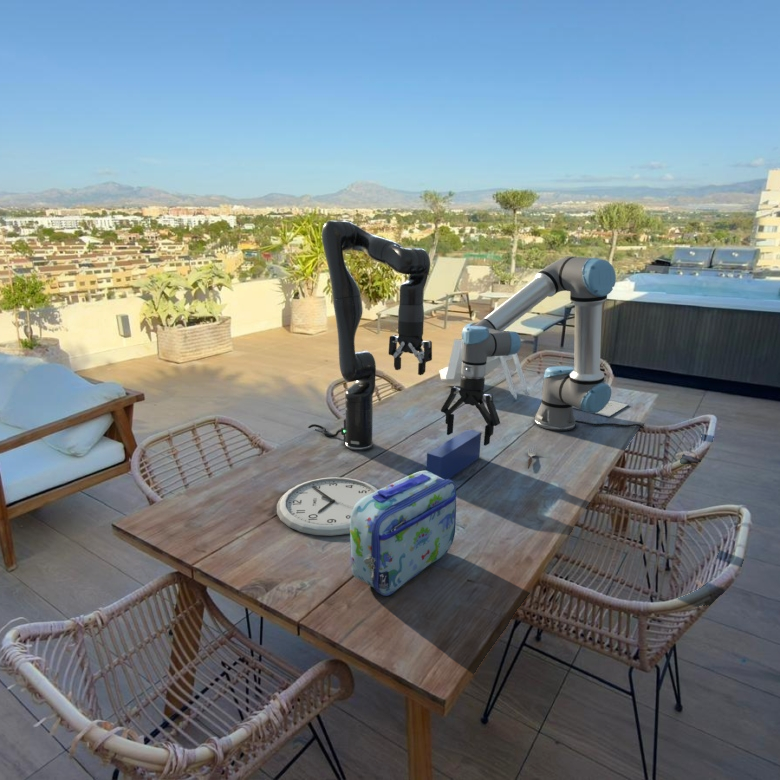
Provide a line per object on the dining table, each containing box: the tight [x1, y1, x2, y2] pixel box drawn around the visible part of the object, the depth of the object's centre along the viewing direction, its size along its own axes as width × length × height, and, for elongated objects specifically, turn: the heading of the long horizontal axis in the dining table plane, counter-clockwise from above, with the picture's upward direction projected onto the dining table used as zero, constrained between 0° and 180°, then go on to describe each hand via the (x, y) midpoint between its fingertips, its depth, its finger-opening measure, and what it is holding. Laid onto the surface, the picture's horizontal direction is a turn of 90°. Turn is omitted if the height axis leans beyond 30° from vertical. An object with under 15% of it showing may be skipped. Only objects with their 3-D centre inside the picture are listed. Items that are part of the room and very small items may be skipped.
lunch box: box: [349, 470, 457, 597], centre depth 114 cm, size 26×11×21 cm, turn 134°
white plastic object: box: [438, 330, 531, 400], centre depth 245 cm, size 37×45×31 cm
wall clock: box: [276, 476, 380, 537], centre depth 142 cm, size 30×2×30 cm
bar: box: [425, 429, 482, 480], centre depth 165 cm, size 25×5×9 cm, turn 143°
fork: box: [527, 445, 537, 469], centre depth 172 cm, size 3×16×2 cm, turn 160°
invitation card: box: [573, 400, 629, 418], centre depth 226 cm, size 21×1×15 cm
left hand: (409, 372), depth 158 cm, fingers open, 8 cm apart
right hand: (467, 438), depth 170 cm, fingers open, 13 cm apart
